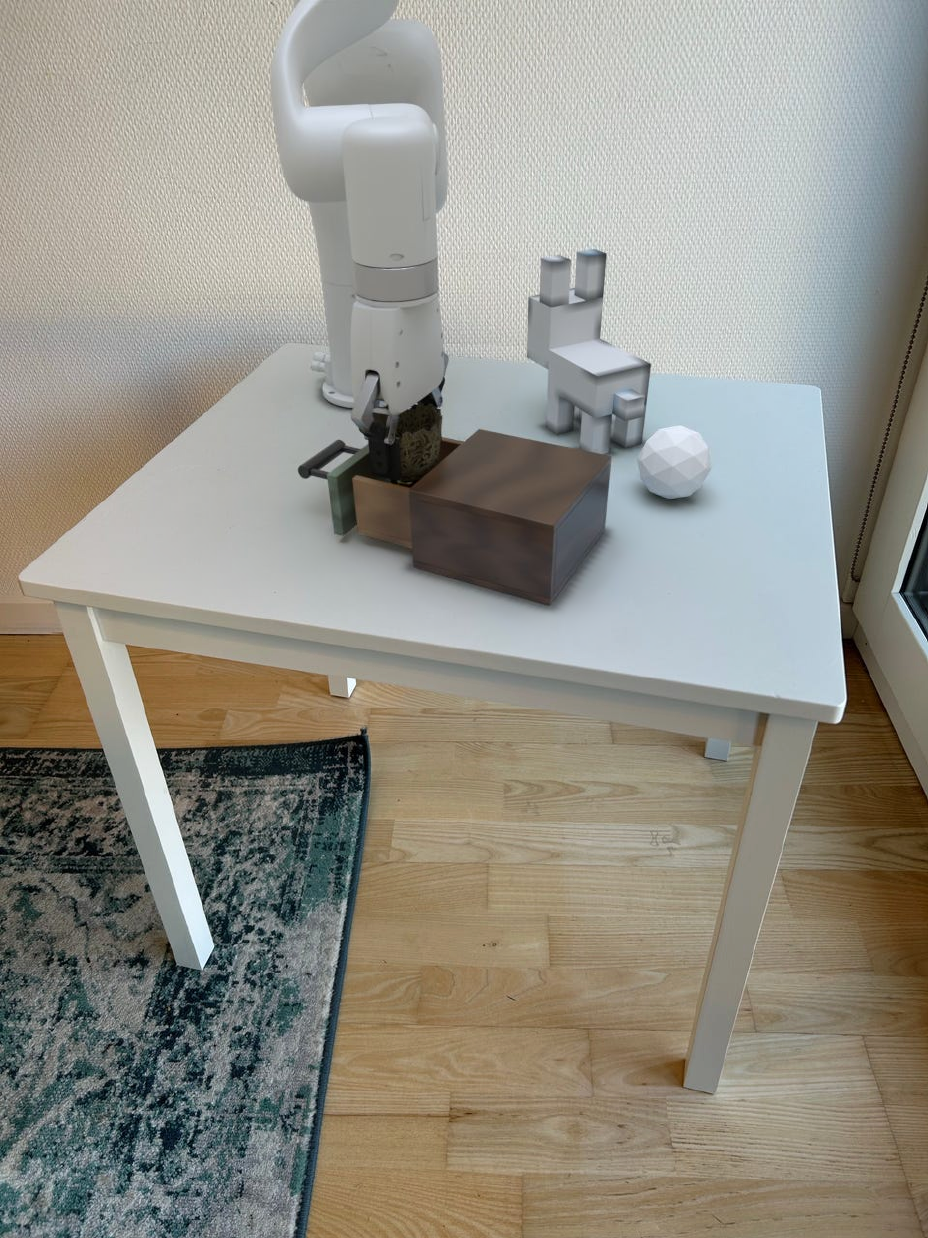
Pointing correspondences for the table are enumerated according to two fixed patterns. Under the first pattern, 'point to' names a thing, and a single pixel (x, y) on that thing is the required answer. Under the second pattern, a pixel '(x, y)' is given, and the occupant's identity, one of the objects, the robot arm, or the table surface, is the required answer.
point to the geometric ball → (674, 462)
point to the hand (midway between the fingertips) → (407, 458)
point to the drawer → (366, 493)
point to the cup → (417, 442)
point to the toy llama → (584, 356)
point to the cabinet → (510, 514)
